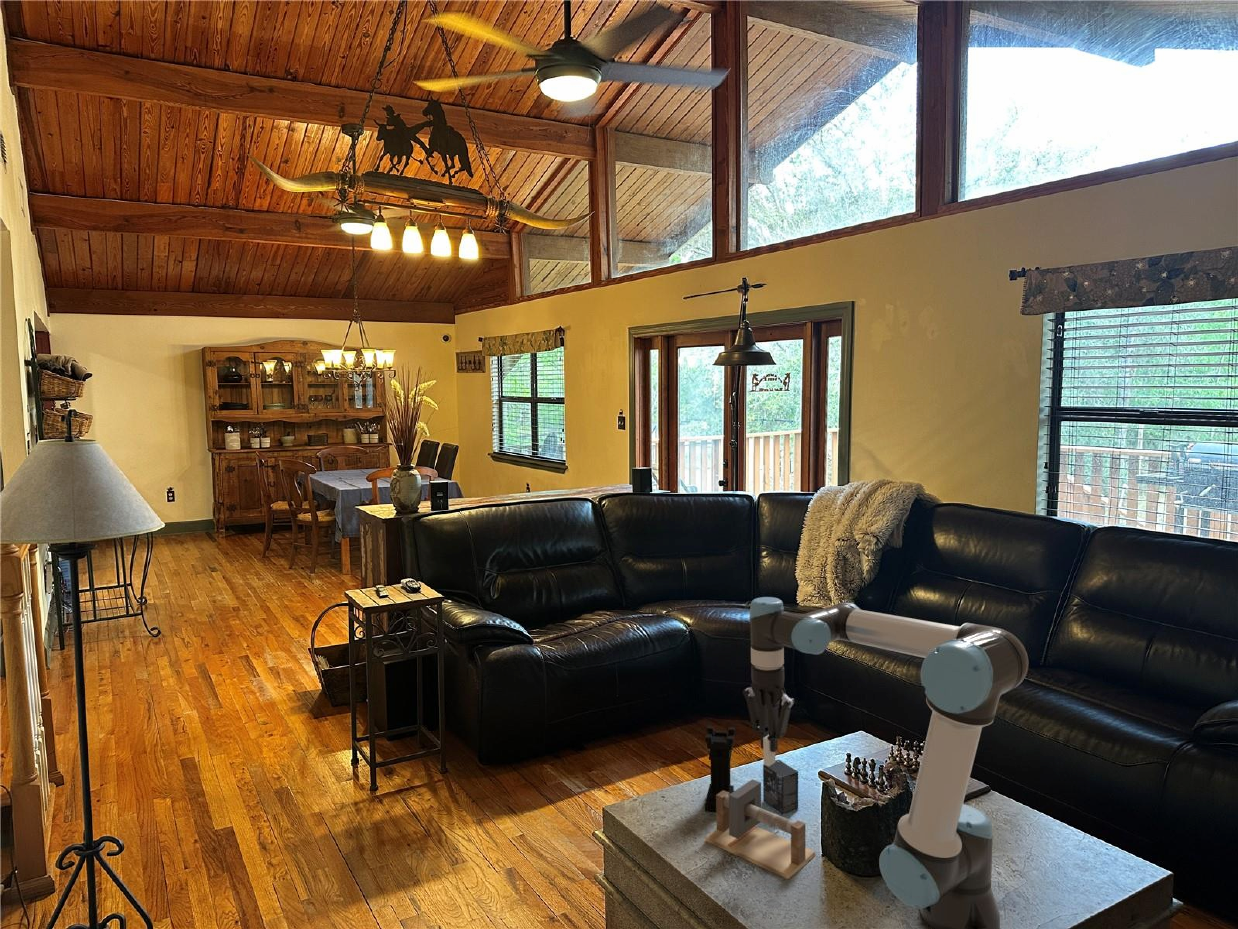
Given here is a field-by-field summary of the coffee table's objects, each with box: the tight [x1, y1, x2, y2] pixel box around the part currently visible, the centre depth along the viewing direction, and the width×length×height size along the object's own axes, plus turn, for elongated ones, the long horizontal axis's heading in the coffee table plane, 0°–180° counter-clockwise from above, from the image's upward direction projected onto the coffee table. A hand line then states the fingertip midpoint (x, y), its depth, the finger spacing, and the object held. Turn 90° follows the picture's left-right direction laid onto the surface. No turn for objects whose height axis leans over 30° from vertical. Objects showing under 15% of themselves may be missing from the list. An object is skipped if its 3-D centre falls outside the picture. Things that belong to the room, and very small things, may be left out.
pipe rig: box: [705, 790, 816, 880], centre depth 188 cm, size 23×12×10 cm, turn 47°
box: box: [762, 758, 799, 815], centre depth 207 cm, size 8×6×11 cm
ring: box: [729, 779, 762, 839], centre depth 190 cm, size 2×10×10 cm, turn 137°
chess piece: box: [703, 725, 736, 814], centre depth 207 cm, size 8×8×20 cm
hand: (769, 763), depth 184 cm, fingers closed
